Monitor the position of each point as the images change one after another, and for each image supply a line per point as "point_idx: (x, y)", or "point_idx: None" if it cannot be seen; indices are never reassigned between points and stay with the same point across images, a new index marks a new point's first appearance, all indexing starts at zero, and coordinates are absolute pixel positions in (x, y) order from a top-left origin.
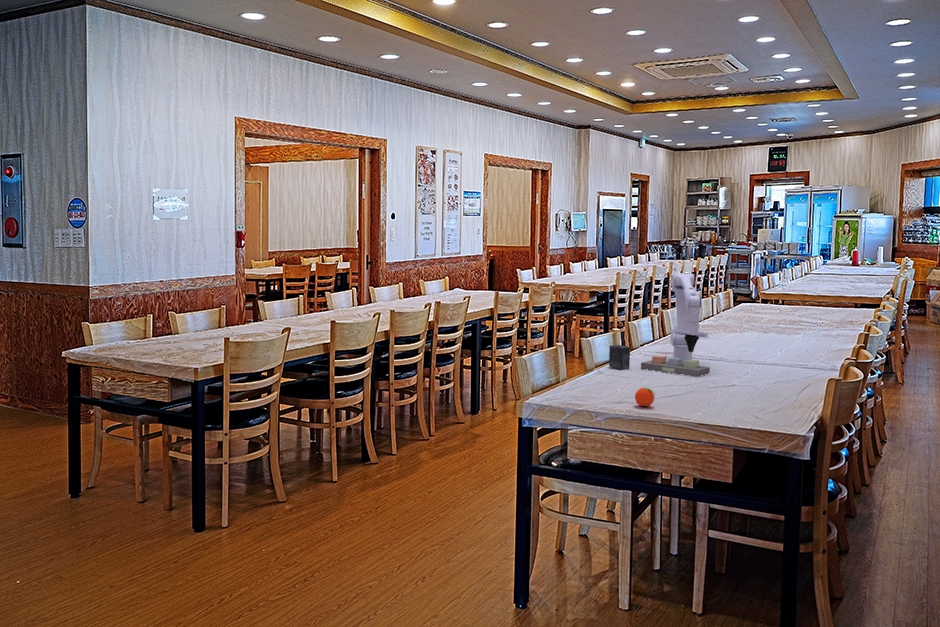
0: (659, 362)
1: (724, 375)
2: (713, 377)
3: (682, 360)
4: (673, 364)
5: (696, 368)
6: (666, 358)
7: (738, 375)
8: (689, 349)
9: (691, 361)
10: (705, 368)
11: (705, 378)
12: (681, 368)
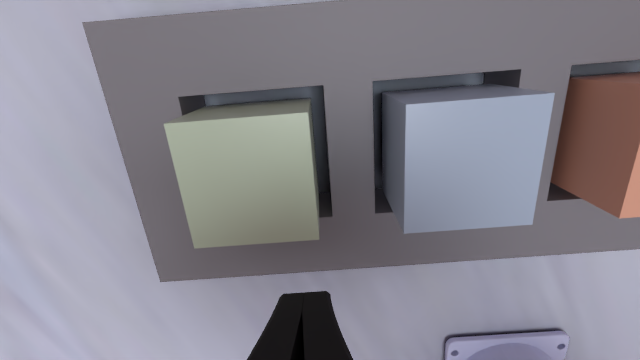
0: (621, 79)
1: (83, 274)
2: (53, 135)
3: (398, 221)
4: (439, 91)
5: None
6: (598, 205)
7: (42, 338)
8: (307, 315)
9: (204, 120)
10: (137, 202)
11: (43, 28)
12: (287, 6)
